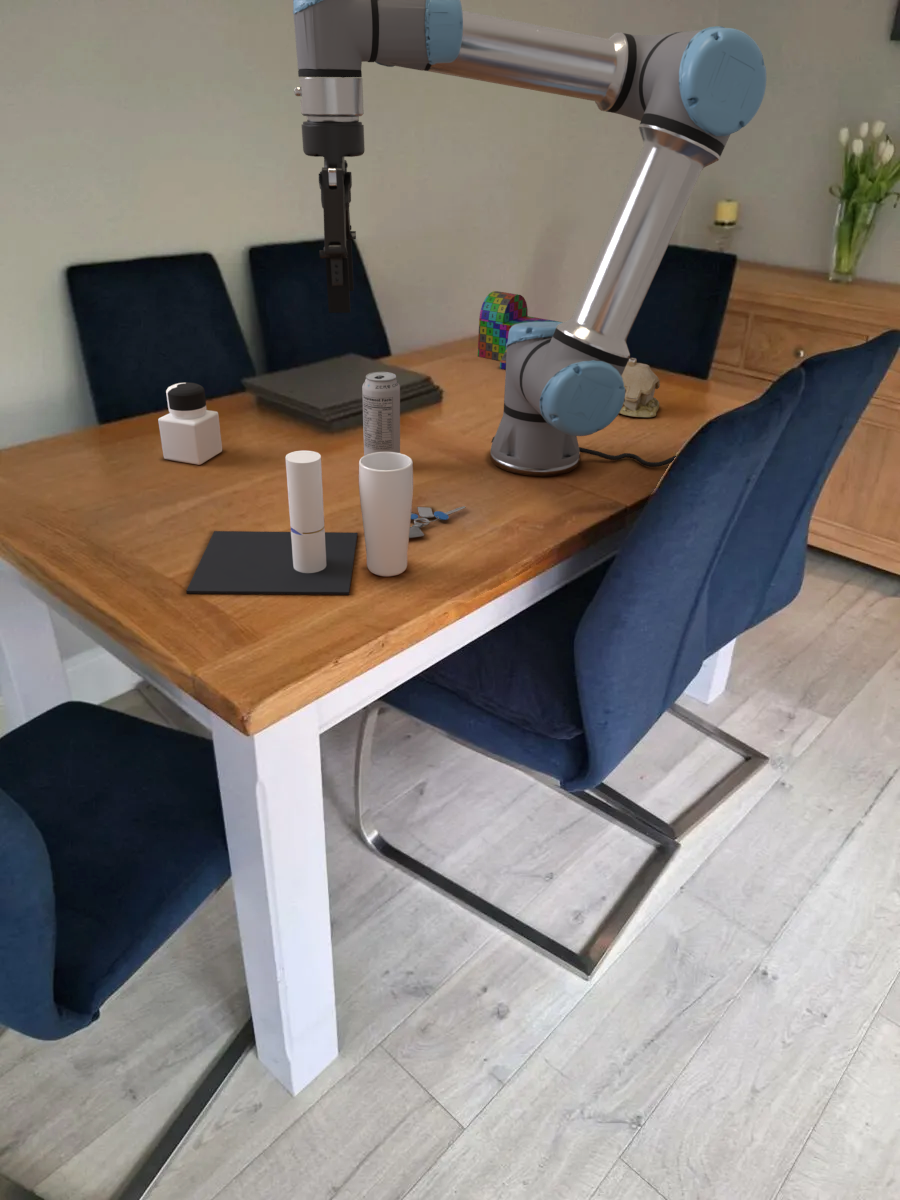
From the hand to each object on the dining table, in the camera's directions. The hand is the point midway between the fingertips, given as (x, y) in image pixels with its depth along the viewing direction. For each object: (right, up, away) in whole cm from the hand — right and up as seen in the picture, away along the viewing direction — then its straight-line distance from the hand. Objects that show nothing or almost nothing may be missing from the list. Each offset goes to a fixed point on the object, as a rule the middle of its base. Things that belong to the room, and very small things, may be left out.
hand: (341, 301), depth 117 cm
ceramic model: (+50, -1, +61) cm, 79 cm away
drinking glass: (+6, -36, -2) cm, 36 cm away
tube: (-4, -36, -2) cm, 36 cm away
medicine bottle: (-29, -16, +32) cm, 46 cm away
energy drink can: (+3, -17, +30) cm, 35 cm away
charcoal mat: (-8, -35, -1) cm, 36 cm away
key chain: (+10, -28, +11) cm, 32 cm away
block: (+33, +16, +89) cm, 96 cm away
